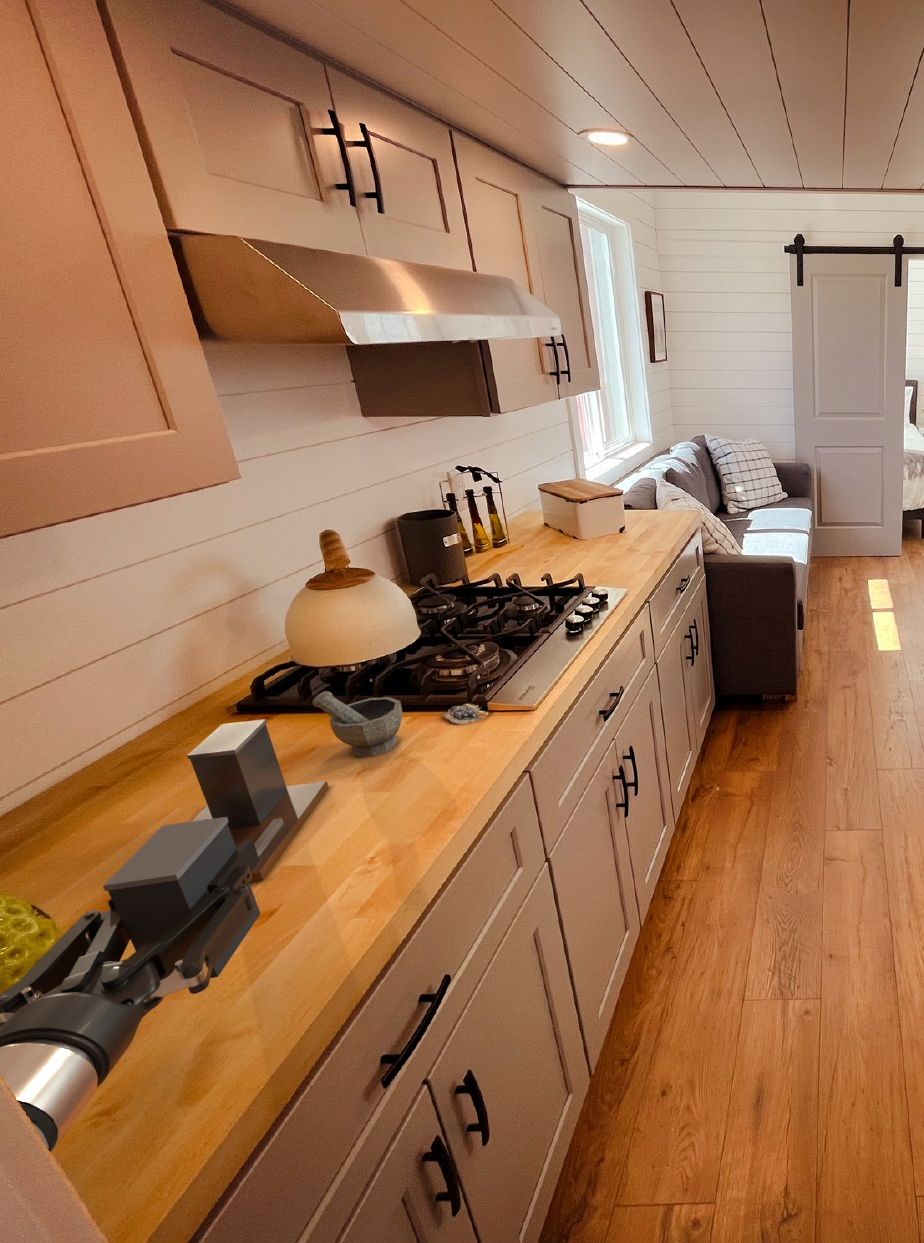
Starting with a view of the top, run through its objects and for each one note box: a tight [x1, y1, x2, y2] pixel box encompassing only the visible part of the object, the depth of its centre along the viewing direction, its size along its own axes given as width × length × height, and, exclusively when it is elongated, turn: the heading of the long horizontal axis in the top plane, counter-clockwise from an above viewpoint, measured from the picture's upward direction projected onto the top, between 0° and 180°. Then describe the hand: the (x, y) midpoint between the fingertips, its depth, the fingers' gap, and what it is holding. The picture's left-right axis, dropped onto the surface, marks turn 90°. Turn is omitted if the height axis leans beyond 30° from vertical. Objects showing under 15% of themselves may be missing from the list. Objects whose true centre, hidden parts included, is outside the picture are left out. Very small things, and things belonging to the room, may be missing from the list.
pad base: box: [186, 719, 330, 884], centre depth 92 cm, size 14×20×14 cm
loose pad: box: [102, 817, 261, 979], centre depth 66 cm, size 5×8×12 cm, turn 16°
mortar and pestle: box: [312, 690, 403, 758], centre depth 113 cm, size 11×9×12 cm
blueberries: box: [441, 703, 489, 725], centre depth 126 cm, size 7×8×2 cm
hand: (218, 855), depth 70 cm, fingers closed on loose pad, 5 cm apart
